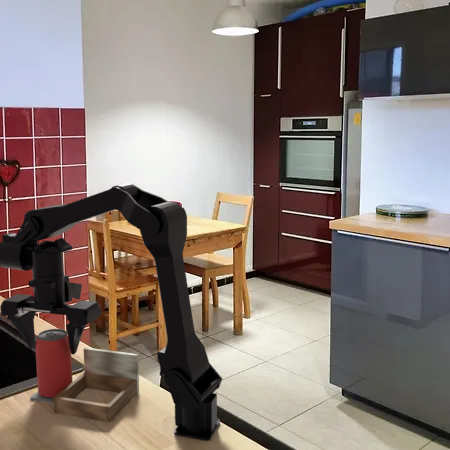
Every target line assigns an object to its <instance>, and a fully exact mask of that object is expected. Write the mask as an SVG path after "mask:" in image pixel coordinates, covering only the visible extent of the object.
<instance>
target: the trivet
mask: <svg viewBox="0 0 450 450" xmlns="http://www.w3.org/2000/svg"><path fill="white" fill-rule="evenodd" d="M29 399H30V400H31V401H36V402H41V403H47V404H53V398H46V397H43V396H41V395H40V394H39V393H38V391H37V392H35V393H34V394H32V396H30V398H29Z"/></svg>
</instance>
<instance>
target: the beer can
mask: <svg viewBox="0 0 450 450" xmlns="http://www.w3.org/2000/svg"><path fill="white" fill-rule="evenodd" d="M34 348H35V349H34V350H35V361H36V377H37V378H36V379H37V392H38V393H39V394H40V395H41V396H43V397H46V398H54V397H55V396H56V395H57V394H59V393H60V392H61V391H62V390H63V389H65V388H66V387H67V386H68V385H69V384H71V383H72V382H73V381H74V380H73V366H72V365H73V364H72V363H73V362H72V361H73V360H72V354H71V351H70V346H69V340H68V334H67V330H66V329H63V328H49V329H46V330H42V331H40V332H39V333H38V334H37V338H36V340H35V347H34Z"/></svg>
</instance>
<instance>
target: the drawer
mask: <svg viewBox="0 0 450 450" xmlns="http://www.w3.org/2000/svg"><path fill="white" fill-rule="evenodd" d="M83 367H84V368H83V369H84V371H83V372H82V374H80V375H79V376H78V377H76V379H74V380H73V382H72V383H71V384H69V385H68V386H67V387H66V388H65V389H63V390H62V391H61V392H60V393H59V394H57V395H56V396H55V397H54V398H53V403H52V406H53V409H52V410H53V414H57V415H63V416H67V417H68V416H69V417H75V418H80V419H86V420H92V421H98V422H105V423H109V424H110V423H112V422H113V421H114V420H115V418H116V417H118V416H119V415H120V413H121V412H123V410H124V409H125V408H126V407H127V406H128V405H129V404H130V403H131V402H132V401H133V399H134V398H136V396H137V395H138V394H139V393H140V376H139V375H140V374H139V370H140V369H139V368H140V367H139V353H137V354H136V353H131V352H130V353H129V352H125V351H117V350H116V351H115V350H108V349H100V348H93V347H92V348H91V347H84V348H83ZM86 389H89V390H95V391H101V392H106V393H107V392H108V393H114V394H117V395H116V396H115V397H114V398H113V399H112V400H111V401H109V403H108V404H107V403H101V402H97V401H96V402H94V401H88V400H82V399H76V398H77V397H79V396H80V395H81V394H82V393H83V392H84V391H85V390H86Z"/></svg>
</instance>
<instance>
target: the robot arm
mask: <svg viewBox="0 0 450 450" xmlns="http://www.w3.org/2000/svg"><path fill="white" fill-rule="evenodd" d="M116 210H117V211H118V212H120V214H121V215H122V217H123V218H124V219H125V220H126V221H127V223H129V224H130V225H132V226H133V227H135V228H136V229H138V230H139V232H140V235H141V239H142V241H143V245H144V246H145V248H146V249H147V250H148V252H149V253H150V255H151V256H152V257H153V259H154V260H153V261H154V264H155V270H156V276H157V282H158V288H159V294H160V300H161V301H160V302H161V307H162V312H163V313H162V314H163V320H164V324H165V325H164V326H165V331H166V339H167V341H166V345H165V346H164V347H163V348H162V349H160V350H159V351H158V352H157V356H156V357H157V361H158V364H159V367H160V368H159V369H160V371H159V376H160V377H162V378H163V381H164V384H165V386H166V387H168V390H169V393H170V395H171V398H172V402H173V404H174V424H175V429H174V431H173V434H174V435H176V436H181V437H187V438H193V439H200V440H205V441H209V440H211V438H212V437H213V435H214V433H215V432H216V430H217V428H218V427H219V425H220V422H221V419H219V418H218V394H217V393H215V392H216V391H217V390H218V389H219V388H220V387H221V384H222V381H223V377H222V376H221V375H220V374H219V373H218V371H217V370H216V369H215V367H213V366H212V364H211V363H210V361H209V357H208V354H207V351H206V348H205V345H204V343H203V342H202V341H201V340H200V338H199V337H198V336H197V334H196V331H195V325H194V319H193V313H192V306H191V300H190V294H189V293H190V292H189V286H188V281H187V274H186V267H185V260H184V254H183V253H184V249H185V245H186V241H187V236H188V214H187V212H186V209H185V208H184V207H183V206H181V205H180V204H179V202H178V203H177V202H175V201H168V200H167V199H165V198H163V197H161V196H159V195H157V194H153V193H151V192H148V191H146V190H143V189H141V188H140V187H138V186H137V185H135V184H134V183H130V182H129V183H124V184H123V183H122V184H119V185H113V186H111V188H108V189H106V190H104V191H101V192H98V193H95V194H92V195H90V196H87V197H84V198H81V199H78V200H75V201H72V202H70V203H63V204H55V205H53V204H52V205H49V206H44V207H39V208H35V209H30V210H28V211H26V212H25V213H24V218H23V222H22V224H21V225H20V228H19V229H18V231H17V233H14V232H8V233H4V234H2V235H1V237H2V241H0V267H1V268H5V269H12V270H18V271H25V272H26V271H27V272H28V271H31V273H32V279H30V280H29V281H28V287H31V288H32V289H33V295H32V294H25V293H24V294H22V293H16V294H15V295H14V294H13V295H12V296H10V297H7V298H6V299H3V300H2V302H1V304H0V315H1V316H2V317H6V320H7V321H9V322H11V324H12V325H13V326H14V327H15V329H16V330H17V331H18V333H19V335H20V337H22V338H23V341H24V342H25V343H26V345H27V346H28V348H29V349H30V350H33V349H34V348H35V345H36V335H35V334H36V333H35V321H34V320H35V317H36V313H44V314H52V315H62V316H66V320H67V321H68V323H67V324H65V325H66V326H65V328H66V331H67V335H68V340H69V346H70V351H71V355H75V354H76V353H77V351H78V348H79V344H80V341H81V338H82V337H83V336H82V335H83V333H84V330H85V328H86V327H87V325H88V324H90V323H92V322H93V321H95V320H97V318H99V317H101V316H102V307H101V305H100V304H99V303H98V301H91V300H81V295H82V287H83V284H82V283H77V282H71V281H70V278H69V275H68V274H65V270H64V268H65V267H64V265H65V264H64V253H65V252H69V251H71V250H73V246H72V244H70V243H69V242H67V241H66V239H65V238H64V237H60V238H57V239H55V240H46V239H49V238H54V237H57V236H61V235H63V234H65V232H67V231H69V230H72V229H73V228H74V227H75V226H76V225H77V224H79V223H80V222H83V221H86V220H89V219H92V218H96V217H98V216H102V215H104V214H108V213H111V212H113V211H116ZM42 240H43V241H42ZM39 241H41V242H40V243H39ZM73 299H75V300H80V301H78V302H76V303H74V304H72V305H71V304H67V303H70V302H72V301H73Z"/></svg>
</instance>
